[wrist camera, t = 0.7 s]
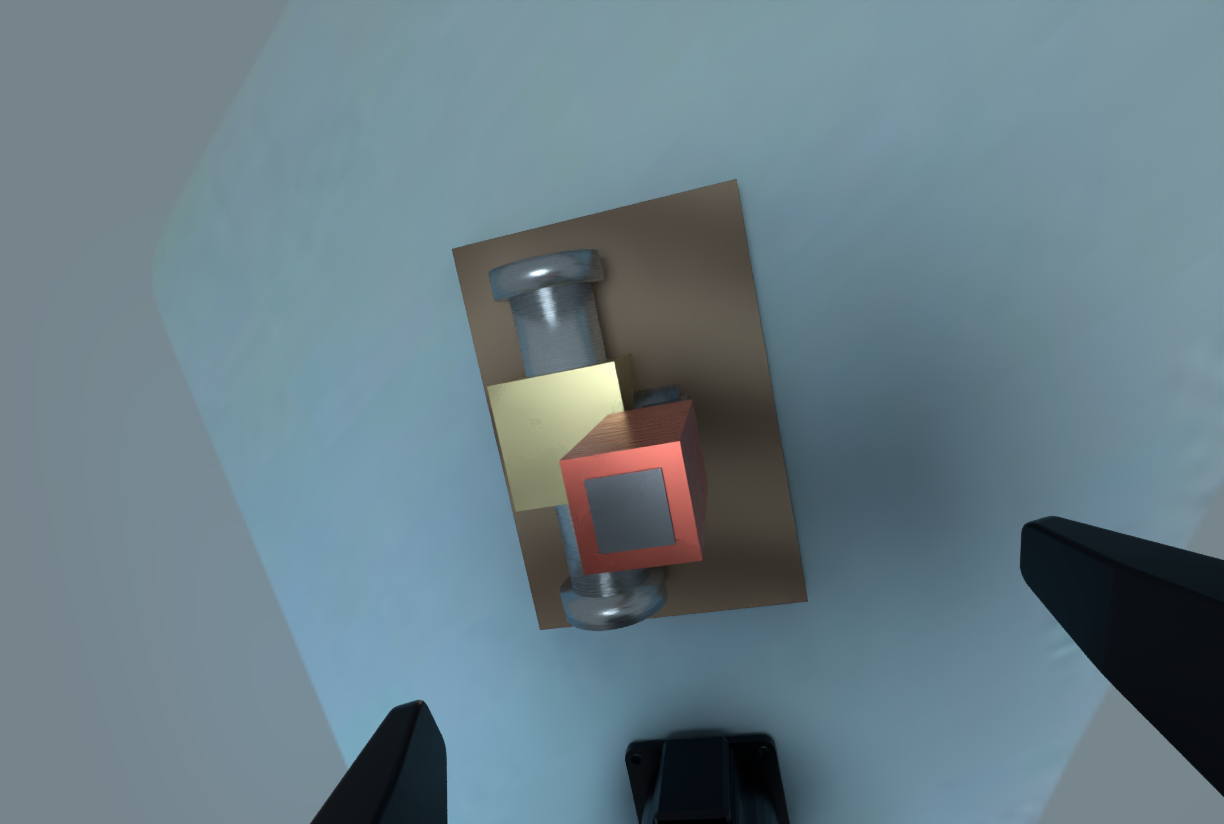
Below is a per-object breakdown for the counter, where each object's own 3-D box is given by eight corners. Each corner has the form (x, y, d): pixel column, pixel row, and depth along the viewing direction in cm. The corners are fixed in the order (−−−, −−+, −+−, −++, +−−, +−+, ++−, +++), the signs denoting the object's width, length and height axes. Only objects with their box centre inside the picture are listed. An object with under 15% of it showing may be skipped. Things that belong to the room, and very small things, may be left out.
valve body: (676, 574, 25) (668, 628, 21) (573, 587, 26) (545, 640, 22) (613, 253, 23) (589, 242, 19) (505, 278, 24) (460, 272, 20)
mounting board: (803, 587, 25) (808, 601, 24) (547, 616, 27) (540, 630, 26) (735, 185, 23) (736, 178, 22) (464, 251, 25) (451, 249, 24)
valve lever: (711, 438, 21) (702, 563, 11) (648, 448, 22) (582, 577, 11) (699, 375, 21) (679, 442, 10) (636, 387, 21) (557, 462, 11)
